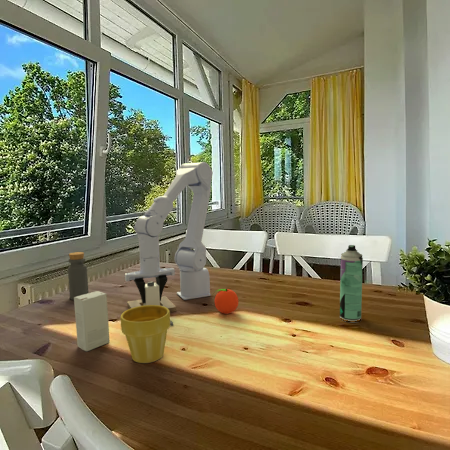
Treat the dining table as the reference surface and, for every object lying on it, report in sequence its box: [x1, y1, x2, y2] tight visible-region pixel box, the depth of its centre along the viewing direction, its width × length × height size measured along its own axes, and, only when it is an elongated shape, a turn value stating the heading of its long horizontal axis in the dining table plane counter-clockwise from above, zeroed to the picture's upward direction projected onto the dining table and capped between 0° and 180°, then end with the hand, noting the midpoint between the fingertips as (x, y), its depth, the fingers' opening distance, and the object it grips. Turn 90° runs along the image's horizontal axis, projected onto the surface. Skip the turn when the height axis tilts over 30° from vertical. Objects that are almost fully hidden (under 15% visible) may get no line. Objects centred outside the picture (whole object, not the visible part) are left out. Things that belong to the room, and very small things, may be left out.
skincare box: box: [73, 290, 110, 352], centre depth 82 cm, size 6×4×12 cm
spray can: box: [339, 244, 364, 321], centre depth 95 cm, size 6×6×20 cm
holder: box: [126, 295, 177, 313], centre depth 107 cm, size 12×12×1 cm
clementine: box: [214, 288, 240, 315], centre depth 102 cm, size 8×7×7 cm
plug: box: [144, 281, 160, 305], centre depth 106 cm, size 4×4×8 cm
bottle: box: [67, 251, 89, 301], centre depth 118 cm, size 6×6×15 cm
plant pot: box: [119, 305, 171, 364], centre depth 76 cm, size 10×10×10 cm
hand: (151, 301), depth 106 cm, fingers closed on plug, 4 cm apart
